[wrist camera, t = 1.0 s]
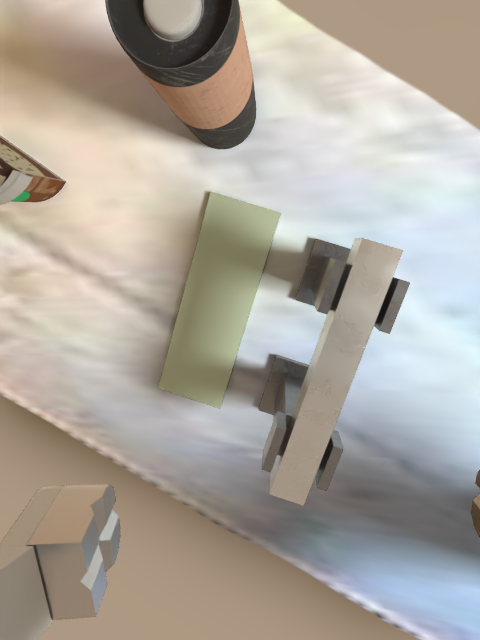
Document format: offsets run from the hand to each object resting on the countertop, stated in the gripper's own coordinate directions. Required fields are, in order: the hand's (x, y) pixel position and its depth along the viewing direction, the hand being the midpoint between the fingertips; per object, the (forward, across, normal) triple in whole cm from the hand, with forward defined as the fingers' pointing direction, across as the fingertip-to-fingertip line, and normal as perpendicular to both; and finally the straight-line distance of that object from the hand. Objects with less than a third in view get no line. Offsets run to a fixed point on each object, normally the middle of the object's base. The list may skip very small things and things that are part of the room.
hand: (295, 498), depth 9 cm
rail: (+23, +6, -7) cm, 25 cm away
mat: (+36, -4, -5) cm, 37 cm away
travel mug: (+38, -2, +16) cm, 42 cm away
